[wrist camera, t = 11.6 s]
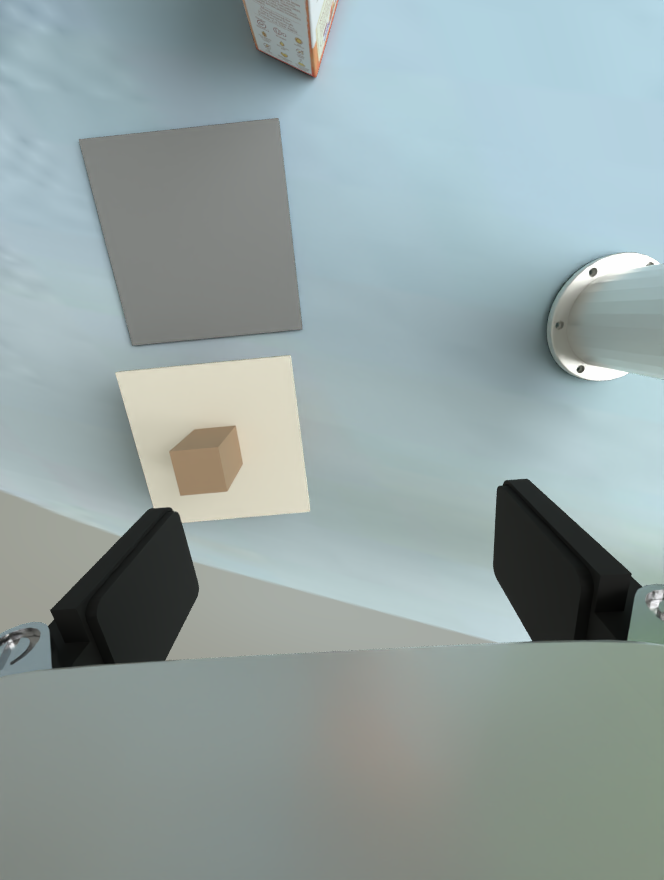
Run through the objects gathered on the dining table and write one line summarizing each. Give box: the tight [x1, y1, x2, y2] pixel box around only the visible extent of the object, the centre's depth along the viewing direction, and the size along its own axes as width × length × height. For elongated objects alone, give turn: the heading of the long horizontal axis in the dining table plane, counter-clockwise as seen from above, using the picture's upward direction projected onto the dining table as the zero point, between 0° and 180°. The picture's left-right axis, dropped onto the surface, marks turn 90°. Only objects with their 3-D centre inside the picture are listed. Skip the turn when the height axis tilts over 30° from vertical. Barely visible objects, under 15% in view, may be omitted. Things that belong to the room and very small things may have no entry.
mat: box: [79, 118, 302, 346], centre depth 36 cm, size 18×18×1 cm
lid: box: [116, 355, 310, 523], centre depth 33 cm, size 16×16×7 cm
